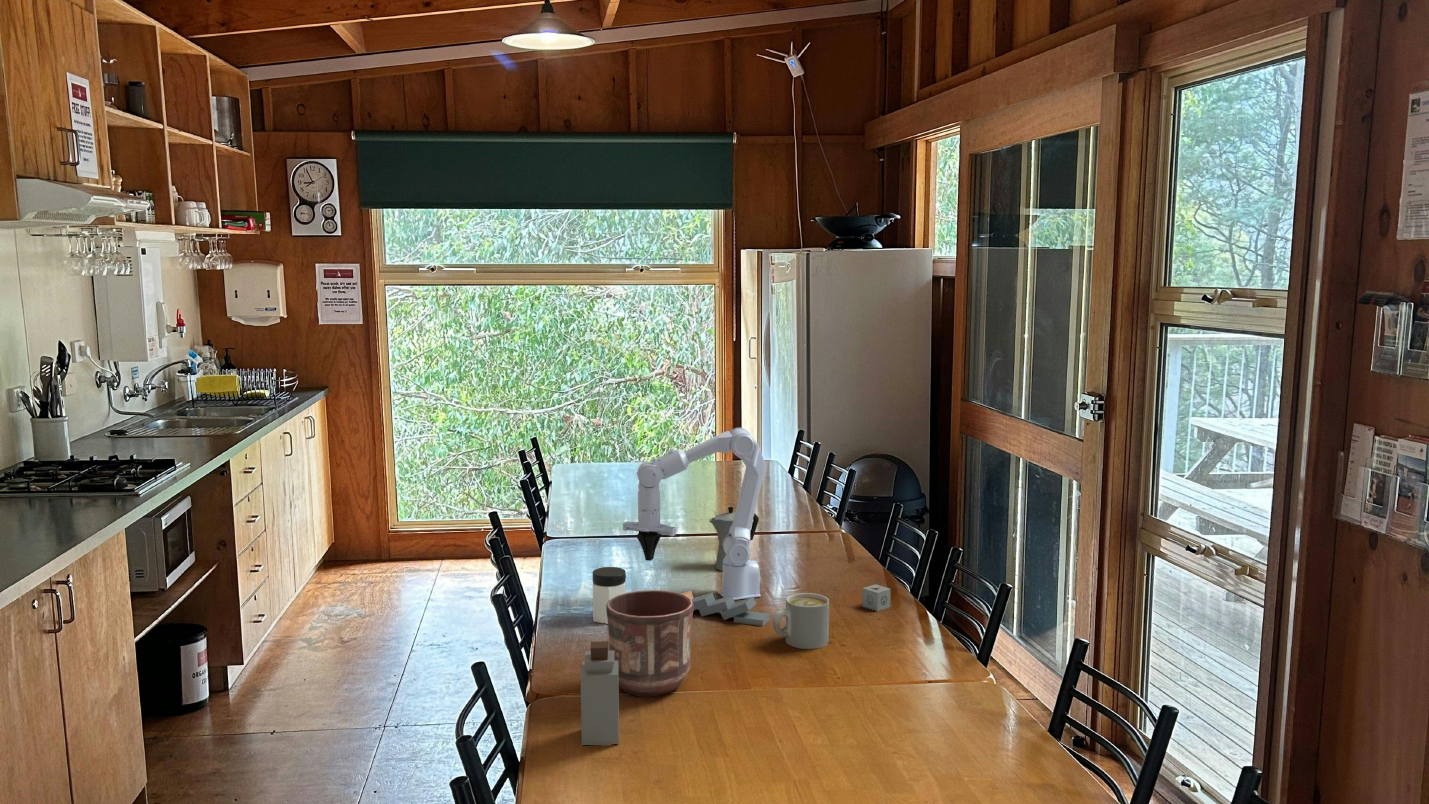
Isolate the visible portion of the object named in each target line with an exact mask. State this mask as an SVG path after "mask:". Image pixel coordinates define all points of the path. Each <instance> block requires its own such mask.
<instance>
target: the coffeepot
mask: <svg viewBox="0 0 1429 804" xmlns="http://www.w3.org/2000/svg"><path fill="white" fill-rule="evenodd" d="M727 508H728V510H727V511H728V512H724V513H719V514H716V515H715V516H714V517H711V518H710V519H709V521H708V522H709V523H711V525H712V526H713V528H714V529H715V531H716V534H717V538H718V539H717V540H718V548H717V554H716V560H715V570H717V569H718V570H717V571H719V570H720V571H719V572H722V571H723V559H724V558H725V556H726V553H725V552H724V550H723V546H722V544H723V540H724V539H725V537H726V536H727V535H728V533H729V530H730V527H731V526H732V524H733V520H734V516H735V512H734V507H733V506H728V507H727ZM759 521H760V517H759V516H758V515H757V514H756V513H754V517H753V521H752V525H751V529H750V541H753V540H754V536H755V533H756V531H757V527H758V524H759Z"/></svg>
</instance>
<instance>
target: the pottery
mask: <svg viewBox="0 0 1429 804" xmlns="http://www.w3.org/2000/svg"><path fill="white" fill-rule="evenodd" d="M693 609H694V604H693V601H692V600H691V599H690V598H688V597H686V596H685V595H682V594H680V593H678V592H675V591H668V590H659V589H658V590H656V589H655V590H650V589H647V590H637V591H636V590H635V591H631V592H630V591H629V592H625V594H622V595H619V596H616V597H614V598H612V599H610V600H609V601H608V603H607V604H606V612H607V620H608V624H607V629H608V641H609V642H608V651H613V650H615V653H614V661H616V660H618V676H619V688H621V689H622V690H623V691H624V692H625V693H627V694H630V695H632V696H636V695H638V696H637V697H645V696H653V697H659V696H658V695H660V696H664V695H667V694H670V693H671V692H673V691H675V690H677V688H678V687H679V686H681V685H682V683H683V682H684V681H685V679H686V677H687V675H688V674H689V671H690V669H691V662H692V661H691V659H692V657H691V656H692V655H691V638H692V622H693V616H694V614H693V613H694V610H693Z"/></svg>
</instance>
